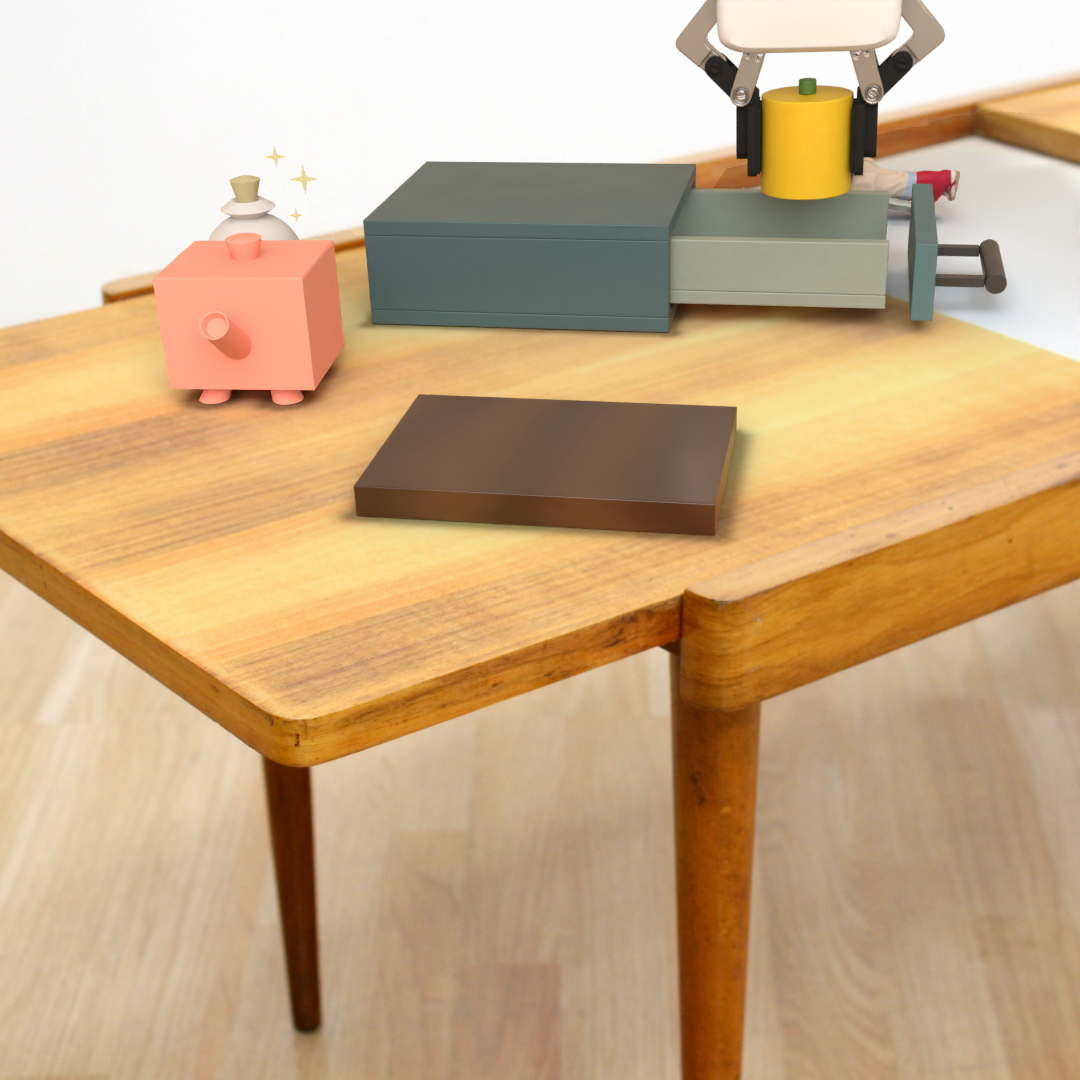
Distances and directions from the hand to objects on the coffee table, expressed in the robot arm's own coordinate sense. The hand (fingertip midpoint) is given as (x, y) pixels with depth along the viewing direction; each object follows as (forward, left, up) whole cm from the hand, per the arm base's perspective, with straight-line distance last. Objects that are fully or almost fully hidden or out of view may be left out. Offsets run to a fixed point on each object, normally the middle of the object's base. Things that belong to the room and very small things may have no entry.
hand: (805, 167), depth 90 cm
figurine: (-2, -20, -8) cm, 22 cm away
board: (+10, +27, -8) cm, 30 cm away
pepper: (0, 0, -1) cm, 1 cm away
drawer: (-1, 0, -7) cm, 7 cm away
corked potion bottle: (+32, +5, -8) cm, 33 cm away
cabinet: (+16, 0, -8) cm, 18 cm away
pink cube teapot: (+28, +18, -8) cm, 34 cm away
